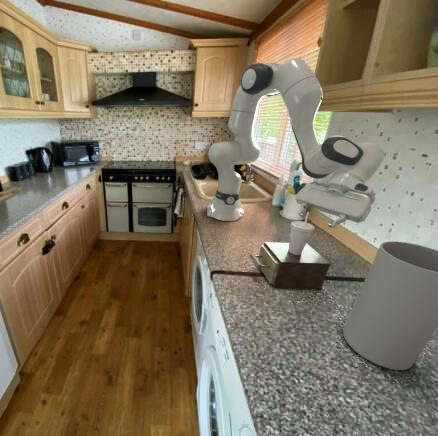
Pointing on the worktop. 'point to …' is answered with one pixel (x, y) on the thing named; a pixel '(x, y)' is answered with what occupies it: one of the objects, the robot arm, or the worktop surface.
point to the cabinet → (298, 267)
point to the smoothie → (299, 235)
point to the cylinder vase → (395, 306)
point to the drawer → (266, 263)
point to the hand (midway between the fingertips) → (314, 220)
